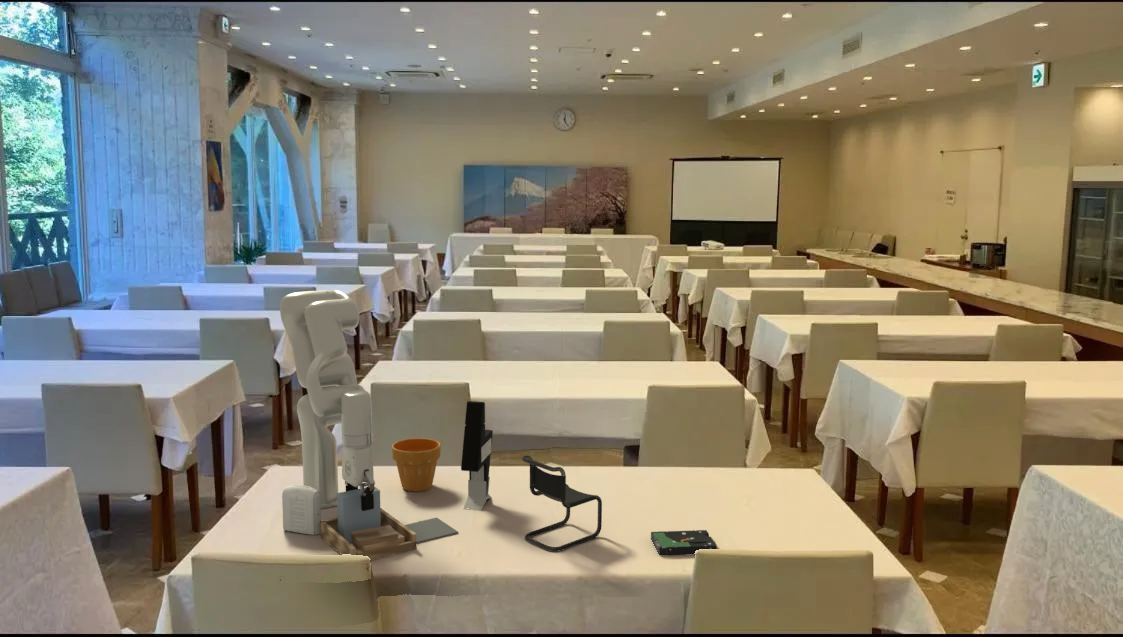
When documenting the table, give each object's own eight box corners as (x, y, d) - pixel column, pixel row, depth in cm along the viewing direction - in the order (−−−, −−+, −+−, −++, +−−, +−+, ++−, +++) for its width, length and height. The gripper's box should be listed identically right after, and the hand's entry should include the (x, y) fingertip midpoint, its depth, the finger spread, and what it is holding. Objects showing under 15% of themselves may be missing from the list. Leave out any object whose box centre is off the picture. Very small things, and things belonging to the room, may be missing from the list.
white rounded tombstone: (324, 530, 244) (322, 485, 242) (315, 536, 240) (313, 490, 238) (290, 525, 247) (288, 480, 245) (280, 531, 243) (278, 486, 241)
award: (478, 513, 256) (478, 408, 251) (460, 512, 257) (459, 406, 252) (493, 495, 271) (493, 394, 266) (476, 493, 272) (475, 393, 267)
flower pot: (394, 479, 283) (393, 438, 281) (441, 478, 285) (440, 437, 283) (391, 495, 269) (390, 452, 267) (440, 494, 271) (440, 451, 269)
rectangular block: (338, 537, 239) (336, 493, 237) (374, 529, 245) (373, 485, 243) (344, 543, 236) (342, 497, 234) (380, 534, 241) (379, 490, 239)
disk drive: (705, 539, 242) (649, 541, 240) (706, 529, 241) (650, 530, 239) (717, 556, 232) (658, 557, 230) (717, 545, 231) (659, 547, 229)
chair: (519, 538, 239) (519, 456, 236) (567, 521, 251) (568, 443, 248) (553, 554, 230) (554, 469, 227) (602, 536, 242) (603, 454, 238)
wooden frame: (320, 536, 240) (319, 521, 239) (381, 522, 249) (381, 508, 249) (352, 565, 223) (351, 549, 222) (416, 548, 232) (416, 533, 232)
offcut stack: (347, 549, 231) (347, 532, 231) (393, 539, 238) (392, 522, 238) (359, 560, 225) (359, 542, 225) (406, 548, 232) (405, 531, 232)
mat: (396, 528, 245) (396, 526, 245) (436, 518, 252) (436, 517, 252) (416, 543, 236) (416, 542, 236) (458, 533, 243) (458, 531, 242)
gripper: (330, 434, 241) (333, 498, 243) (357, 449, 227) (359, 517, 229) (357, 430, 245) (360, 492, 247) (385, 444, 231) (387, 510, 233)
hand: (359, 504), depth 238 cm, fingers open, 9 cm apart
